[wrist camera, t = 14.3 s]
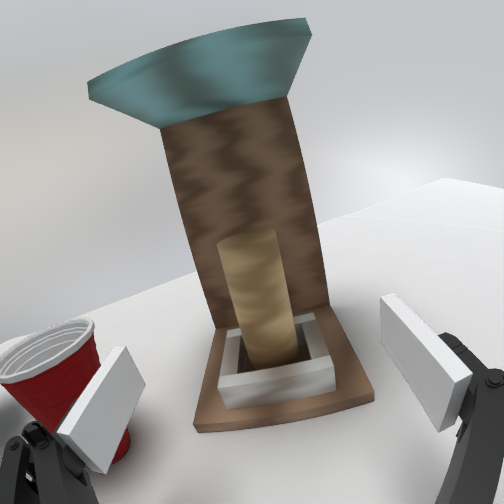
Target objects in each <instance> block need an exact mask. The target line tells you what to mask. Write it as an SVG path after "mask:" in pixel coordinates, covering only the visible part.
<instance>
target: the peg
mask: <svg viewBox="0 0 504 504" xmlns="http://www.w3.org/2000/svg"><path fill="white" fill-rule="evenodd" d="M217 248H218V251H219V255H220V259H221V262H222V266H223V270H224V273H225V277H226V281H227V284H228V288H229V292H230V295H231V299H232V302H233V306H234V309H235V313H236V316H237V320H238V323H239V327H240V330H241V333H242V337H243V340H244V343H245V347H246V350H247V353H248V357H249V360H250V363H251V367H252V370H253V371H258V370H264V369H269V368H274V367H280V366H285V365H289V364H294V363H299V362H301V358H300V352H299V347H298V342H297V336H296V331H295V326H294V320H293V315H292V310H291V305H290V300H289V295H288V290H287V285H286V280H285V275H284V270H283V265H282V260H281V255H280V250H279V246H278V241H277V236H276V232H275V230H273V229H258V230H252V231H247V232H243V233H239V234H236V235H233V236H230V237H227V238H225V239H223V240H221V241H220V242H218V243H217Z"/></svg>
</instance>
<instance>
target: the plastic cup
mask: <svg viewBox="0 0 504 504" xmlns="http://www.w3.org/2000/svg"><path fill="white" fill-rule="evenodd" d="M94 328H95V326H94V321H92V320H91V319H90V318H76V319H71V320H67V321H63V322H60V323H58V324H55V325H53V326H50V327H47V328H45V329H43V330H41V331H39V332H36V333H34V334H32V335H30V336H28V337H27V338H25V339H23V340H22V341H20V342H18V343H17V344H15V345H13V346H12V347H11V348H9V349H8V350H7V351H6V352H4V353H3V354H2V355H0V384H1V385H2V386H3V387H4V388H5V389H6V390H7V391H8V392H9V393H10V394H11V395H12V396H13V397H14V398H15V399H16V400H17V401H18V402H19V403H20V404H21V405H22V406H23V407H24V408H25V409H26V410H27V411H28V412H29V413H30V414H31V415H32V416H33V417H34V418H35V419H36V420H37V421H40V422H41V423H42V424H43V425H44V426H45V427H46V428H47V430H48V431H49V432H50V433H51V434H52V433H53V432H54V430H55V428H56V427H57V425H58V424H59V422H60V421H61V419H62V418H63V416H65V413H66V412H67V410H68V409H69V407H70V406H71V404H72V403H73V401H75V400H76V399H77V398H78V397H79V396H81V394H82V393H83V391H84V390H85V388H86V387H87V385H88V384H89V382H90V381H91V379H92V378H93V377H94V375H95V374H96V372H97V371H98V369H99V368H100V367H101V364H100V362H99V356H98V353H97V350H96V344H95V340H94V334H93V333H94V331H93V330H94ZM129 444H130V438H129V434H128V429H127V427H126V429H125V431H124V434H123V436H122V438H121V441H120V443H119V445H118V448H117V450H116V452H115V455H114V457H113V459H112V462H111V464H113V463H114V462H116V461H118V460H119V459H121V458H122V457H123V455H124V454H125V453H126V452H127V450H128V447H129Z"/></svg>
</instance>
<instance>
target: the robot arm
mask: <svg viewBox="0 0 504 504" xmlns="http://www.w3.org/2000/svg"><path fill="white" fill-rule="evenodd" d="M380 312H381V344H382V345H383V346H384V348H385V349H386V351H387V352H388V354H389V355H390V357H391V358H392V360H393V361H394V363H395V364H396V366H397V367H398V369H399V371H400V372H401V374H402V375H403V377H404V378H405V380H406V381H407V383H408V384H409V386H410V388H411V389H412V391H413V392H414V394H415V396H416V397H417V399H418V400H419V402H420V404H421V405H422V407H423V408H424V410H425V412H426V413H427V415H428V417H429V418H430V420H431V422H432V423H433V425H434V427H435V428H436V430H437V432H438V433H439V432H441V431H443V430H445V429H446V428H448V427H450V426H452V425H454V424H455V422H456V419H457V417H458V415H459V416H460V418H461V419H462V421H463V422H462V424H461V426H460V428H459V430H458V433H457V435H456V437H458V438H457V442H456V446H455V449H454V453H453V456H452V459H451V462H450V465H449V468H448V471H447V474H446V477H445V480H444V482H443V485H442V488H441V490H440V493H439V495H438V497H437V500H436V502H435V504H493V500H494V497H495V493H496V490H497V486H498V482H499V477H500V473H501V468H502V463H503V458H504V371H502V370H501V369H495V368H494V369H488V368H487V367H486V366H485V365H484V364H483V363H482V362H481V361H480V360H479V359H478V358H477V357H476V356H475V355H474V354H473V353H472V352H471V351H470V350H468V348H467V347H466V346H465V345H463V344H462V342H461V341H460V340H459V339H458V338H457V337H455V336H453V335H451V334H449V333H446V332H445V333H443V334H440V335H438V336H437V335H436V334H435V333H434V332H433V331H432V330H431V329H430V328H429V327H428V326H427V325H426V324H425V323H424V322H423V321H422V320H421V319H420V318H419V317H418V316H417V315H416V314H415V313H414V312H413V311H412V310H411V309H410V308H409V307H408V306H407V305H406V304H405V303H404V302H403V301H402V300H401V299H400V298H399V297H398V296H397V295H396V294H394V293H391V294H388V295H384V296H381V297H380ZM145 385H146V384H145V382H144V380H143V378H142V376H141V375H140V373H139V371H138V369H137V367H136V365H135V363H134V361H133V359H132V357H131V355H130V353H129V351H128V349H127V347H126V346H118V347H114V348H113V350H112V351H111V353H110V354H109V355H108V357H107V358H106V360H105V361H104V362H103V364H102V365H101V367H100V368H99V369H98V371H97V372H96V374H95V375H94V377H93V378H92V379H91V381H90V382H89V384H88V385H87V387H86V388H85V390H84V391H83V393H82V394H81V396H79V397H78V398H77V399H76V400H75V401H73V403H72V404H71V406H70V407H69V409H68V410H67V412H66V413H65V416H63V418H62V419H61V421H60V422H59V424H58V425H57V427H56V428H55V430H54V432H53V433H52V434H51V433H50V432H49V431H48V430H47V428H46V427H45V426H44V425H43V424H42V423H41V422H40V421H32V422H30V423H29V424H27V425H26V426H25V427H24V429H23V431H22V436H23V437H24V438H25V439H26V440H27V442H28V443H29V444H27V443H26V442H25V441H24V440H23V439H22V438H21V437H20V436H15V437H12V438H11V439H9V441H8V442H7V444H6V446H5V450H4V454H3V458H2V463H1V467H0V504H99V503H98V500H97V498H96V495H95V493H94V490H93V487H92V485H91V482H90V479H89V476H88V473H87V472H86V471H85V470H84V467H85V465H87V466H88V467H89V468H90V469H91V470H92V471H93V472H97V473H101V474H107V471H108V469H109V467H110V464H111V462H112V459H113V457H114V455H115V452H116V450H117V448H118V445H119V443H120V441H121V438H122V436H123V434H124V431H125V429H126V427H127V425H128V422H129V420H130V418H131V416H132V414H133V411H134V409H135V407H136V405H137V402H138V400H139V398H140V396H141V394H142V392H143V389H144V387H145ZM26 473H27V474H29V475H30V476H31V477H32V482H31V481H29V480H28V479H27V478H26Z"/></svg>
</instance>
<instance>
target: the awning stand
mask: <svg viewBox="0 0 504 504" xmlns="http://www.w3.org/2000/svg"><path fill="white" fill-rule="evenodd" d="M311 36H312V34H311V31H310V28H309V26H308V24H307V21H306V18H296V19H286V20H278V21H270V22H263V23H258V24H251V25H246V26H240V27H235V28H231V29H226V30H222V31H218V32H214V33H210V34H206V35H202V36H199V37H195V38H192V39H189V40H185V41H182V42H179V43H176V44H173V45H170V46H167V47H164V48H161V49H159V50H156V51H153V52H151V53H148V54H146V55H143V56H141V57H138V58H136V59H133V60H131V61H129V62H127V63H124V64H122V65H120V66H118V67H116V68H113V69H112V70H109V71H107V72H106V73H103V74H101V75H99V76H97V77H96V78H94V79H92V80H90V81H88V82H87V84H88V93H89V99H90V100H92V101H94V102H97V103H99V104H102V105H104V106H107V107H109V108H112V109H114V110H117V111H120V112H122V113H124V114H126V115H129V116H131V117H133V118H136V119H138V120H140V121H143V122H145V123H147V124H150V125H152V126H154V127H156V128H158V129H160V132H161V136H162V140H163V145H164V149H165V153H166V158H167V162H168V166H169V170H170V174H171V178H172V182H173V186H174V190H175V194H176V198H177V202H178V206H179V209H180V213H181V217H182V220H183V224H184V227H185V231H186V235H187V238H188V242H189V245H190V249H191V252H192V256H193V259H194V262H195V265H196V269H197V272H198V275H199V279H200V282H201V285H202V288H203V291H204V294H205V298H206V301H207V304H208V307H209V310H210V313H211V316H212V319H213V322H214V325H215V328H216V331H215V335H214V339H213V343H212V347H211V351H210V355H209V359H208V363H207V367H206V371H205V375H204V380H203V384H202V388H201V392H200V396H199V401H198V405H197V409H196V413H195V418H194V422H193V425H194V427H195V429H196V430H197V432H198V433H201V432H218V431H230V430H240V429H249V428H257V427H264V426H271V425H277V424H283V423H289V422H294V421H299V420H304V419H309V418H313V417H318V416H322V415H326V414H330V413H334V412H338V411H342V410H345V409H349V408H352V407H356V406H359V405H362V404H366V403H369V402H372V401H374V390H373V388H372V386H371V384H370V382H369V380H368V378H367V376H366V373H365V371H364V369H363V367H362V365H361V364H360V362H359V360H358V358H357V356H356V354H355V352H354V350H353V348H352V346H351V344H350V342H349V340H348V338H347V336H346V334H345V332H344V330H343V329H342V327H341V325H340V323H339V321H338V319H337V317H336V315H335V313H334V312H333V310H332V308H331V306H330V302H329V295H328V288H327V282H326V275H325V269H324V263H323V257H322V251H321V245H320V239H319V234H318V228H317V223H316V218H315V213H314V208H313V203H312V198H311V193H310V188H309V184H308V179H307V175H306V170H305V166H304V161H303V157H302V153H301V149H300V145H299V141H298V137H297V133H296V129H295V125H294V121H293V117H292V113H291V110H290V106H289V102H288V99H287V94H288V92H289V90H290V87H291V85H292V82H293V79H294V77H295V75H296V73H297V70H298V68H299V65H300V63H301V60H302V58H303V55H304V53H305V51H306V48H307V46H308V43H309V41H310V39H311ZM258 229H273V230H275V232H276V236H277V241H278V246H279V250H280V255H281V260H282V265H283V270H284V275H285V280H286V285H287V290H288V295H289V300H290V305H291V310H292V315H293V320H294V326H295V331H296V336H297V342H298V347H299V352H300V358H301V362H299V363H294V364H289V365H285V366H280V367H274V368H269V369H264V370H258V371H253V370H252V367H251V363H250V360H249V357H248V353H247V350H246V347H245V343H244V340H243V337H242V333H241V330H240V327H239V323H238V320H237V316H236V313H235V309H234V306H233V302H232V299H231V295H230V292H229V288H228V284H227V281H226V277H225V273H224V270H223V266H222V262H221V259H220V255H219V251H218V248H217V243H218V242H220V241H221V240H223V239H225V238H227V237H230V236H233V235H236V234H239V233H243V232H247V231H252V230H258Z"/></svg>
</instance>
